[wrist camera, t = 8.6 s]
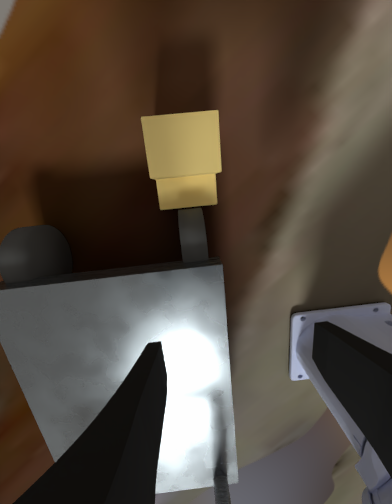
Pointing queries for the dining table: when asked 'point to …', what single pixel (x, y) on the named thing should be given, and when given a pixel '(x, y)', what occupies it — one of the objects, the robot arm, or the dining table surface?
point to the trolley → (123, 346)
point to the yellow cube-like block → (183, 157)
